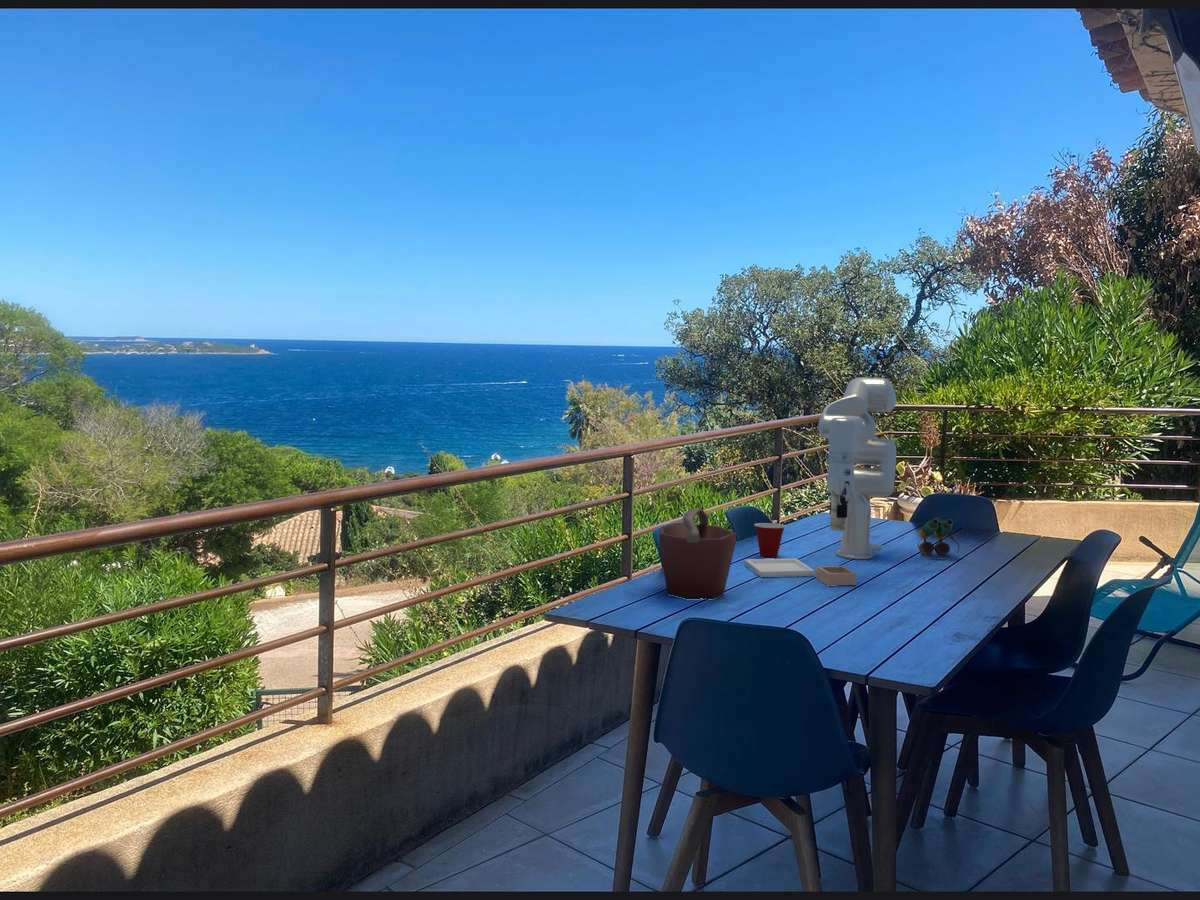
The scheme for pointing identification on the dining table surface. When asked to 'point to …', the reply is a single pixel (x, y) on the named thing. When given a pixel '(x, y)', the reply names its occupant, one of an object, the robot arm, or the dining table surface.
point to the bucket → (696, 557)
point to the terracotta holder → (836, 575)
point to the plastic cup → (769, 538)
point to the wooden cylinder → (835, 522)
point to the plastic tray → (779, 567)
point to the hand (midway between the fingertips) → (838, 515)
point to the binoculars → (940, 532)
